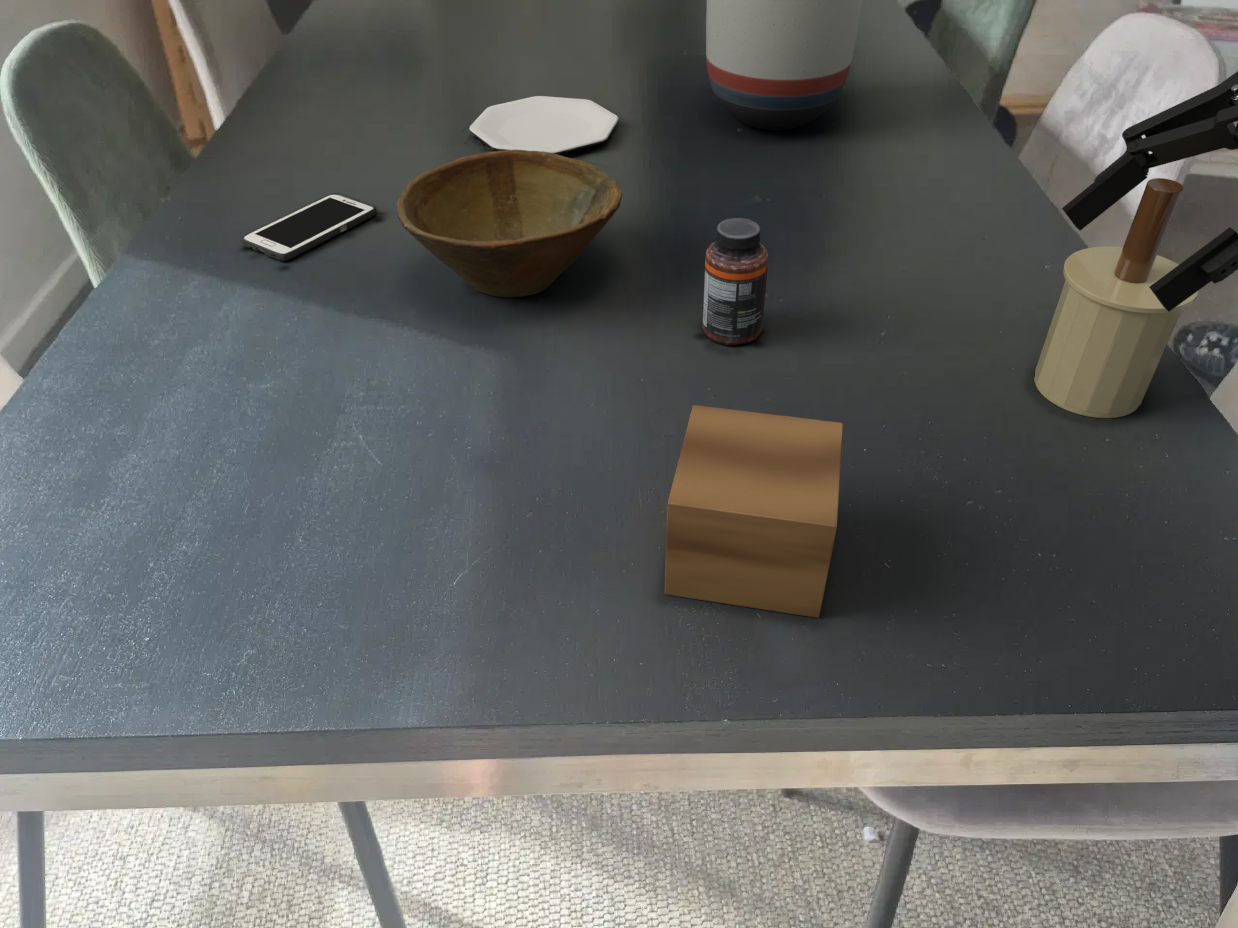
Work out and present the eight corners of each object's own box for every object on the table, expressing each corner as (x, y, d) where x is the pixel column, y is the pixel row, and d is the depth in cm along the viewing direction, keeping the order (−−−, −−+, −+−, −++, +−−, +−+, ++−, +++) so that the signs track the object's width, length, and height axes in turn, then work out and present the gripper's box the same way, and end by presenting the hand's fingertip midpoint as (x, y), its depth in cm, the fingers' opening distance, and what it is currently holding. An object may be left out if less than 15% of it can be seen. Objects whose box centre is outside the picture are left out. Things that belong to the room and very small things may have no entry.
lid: (1174, 328, 74) (1218, 228, 68) (1043, 285, 79) (1074, 189, 74) (1212, 276, 80) (1255, 180, 74) (1088, 240, 85) (1119, 147, 80)
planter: (769, 87, 147) (783, -69, 133) (874, 124, 135) (901, -42, 121) (671, 119, 137) (676, -45, 123) (775, 163, 125) (792, -14, 111)
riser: (819, 618, 66) (837, 526, 60) (664, 594, 68) (667, 503, 62) (826, 512, 74) (843, 422, 69) (688, 493, 76) (692, 404, 70)
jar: (1151, 424, 83) (1200, 315, 75) (1040, 411, 84) (1078, 303, 77) (1131, 365, 89) (1174, 260, 82) (1028, 354, 91) (1062, 250, 84)
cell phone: (239, 245, 109) (237, 237, 108) (336, 198, 118) (334, 191, 117) (284, 264, 105) (282, 256, 105) (380, 214, 114) (379, 206, 114)
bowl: (642, 318, 96) (643, 227, 90) (415, 345, 93) (399, 253, 86) (601, 222, 113) (599, 140, 106) (406, 242, 109) (392, 158, 103)
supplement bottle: (729, 309, 98) (737, 206, 90) (774, 332, 94) (785, 227, 87) (688, 330, 95) (693, 226, 87) (733, 355, 91) (742, 248, 84)
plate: (628, 112, 139) (628, 102, 138) (595, 167, 125) (595, 155, 124) (500, 102, 143) (500, 92, 142) (454, 154, 128) (453, 143, 127)
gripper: (1528, 158, 62) (1222, 367, 70) (1277, 41, 81) (1059, 216, 89) (1504, 79, 58) (1183, 311, 66) (1245, -25, 77) (1020, 166, 85)
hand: (1111, 257), depth 78 cm, fingers open, 13 cm apart
